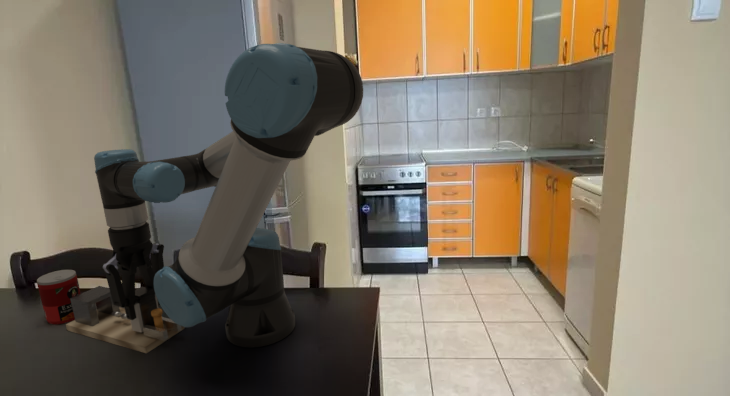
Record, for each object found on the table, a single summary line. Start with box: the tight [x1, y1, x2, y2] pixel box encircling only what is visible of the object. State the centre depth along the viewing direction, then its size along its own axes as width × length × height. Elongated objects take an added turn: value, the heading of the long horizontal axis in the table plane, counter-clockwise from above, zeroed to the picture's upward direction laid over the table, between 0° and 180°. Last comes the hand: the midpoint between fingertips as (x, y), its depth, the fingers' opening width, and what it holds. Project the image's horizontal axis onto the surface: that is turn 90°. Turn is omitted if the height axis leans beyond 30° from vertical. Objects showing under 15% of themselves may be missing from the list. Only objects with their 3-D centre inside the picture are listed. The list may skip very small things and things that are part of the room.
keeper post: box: [151, 307, 164, 329], centre depth 88 cm, size 2×2×5 cm
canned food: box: [36, 269, 82, 325], centre depth 99 cm, size 8×8×11 cm
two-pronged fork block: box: [112, 286, 183, 342], centre depth 89 cm, size 19×5×9 cm, turn 67°
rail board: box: [65, 307, 185, 354], centre depth 93 cm, size 26×10×2 cm, turn 67°
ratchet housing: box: [70, 285, 120, 326], centre depth 96 cm, size 6×7×6 cm
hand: (147, 325), depth 90 cm, fingers closed on two-pronged fork block, 4 cm apart
